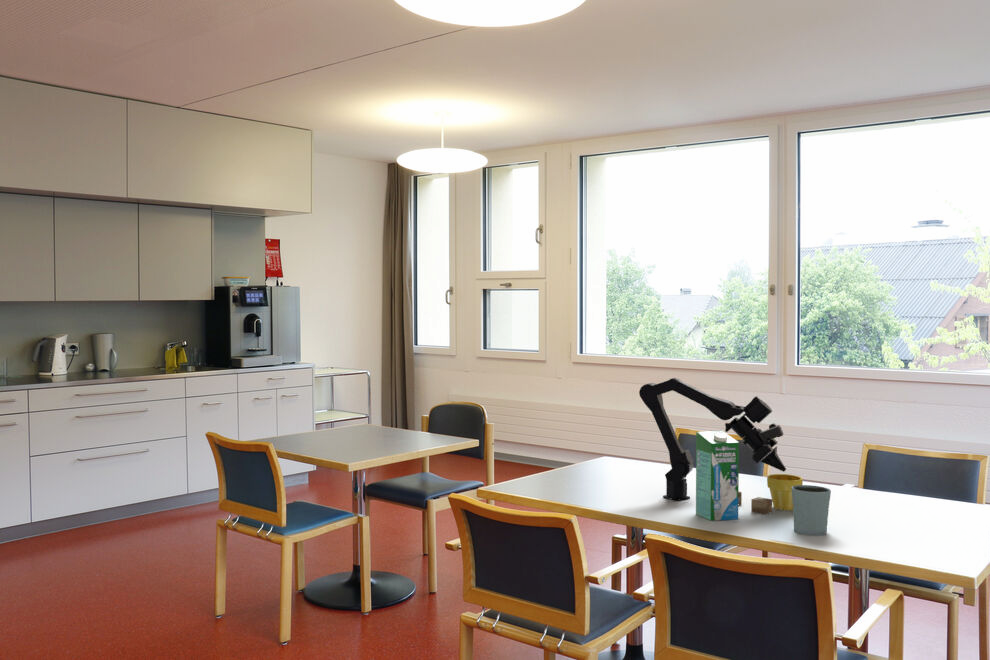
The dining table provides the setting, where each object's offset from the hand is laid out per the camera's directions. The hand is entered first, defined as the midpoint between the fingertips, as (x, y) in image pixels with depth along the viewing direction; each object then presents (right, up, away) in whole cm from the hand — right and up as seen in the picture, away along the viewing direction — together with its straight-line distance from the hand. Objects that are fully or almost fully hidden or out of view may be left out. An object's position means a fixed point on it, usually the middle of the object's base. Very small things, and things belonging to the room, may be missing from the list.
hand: (785, 470), depth 253 cm
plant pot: (0, -12, 0) cm, 12 cm away
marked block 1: (-15, -12, +7) cm, 20 cm away
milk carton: (-24, -12, -11) cm, 29 cm away
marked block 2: (-9, -12, -5) cm, 16 cm away
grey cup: (-3, -12, -27) cm, 30 cm away
